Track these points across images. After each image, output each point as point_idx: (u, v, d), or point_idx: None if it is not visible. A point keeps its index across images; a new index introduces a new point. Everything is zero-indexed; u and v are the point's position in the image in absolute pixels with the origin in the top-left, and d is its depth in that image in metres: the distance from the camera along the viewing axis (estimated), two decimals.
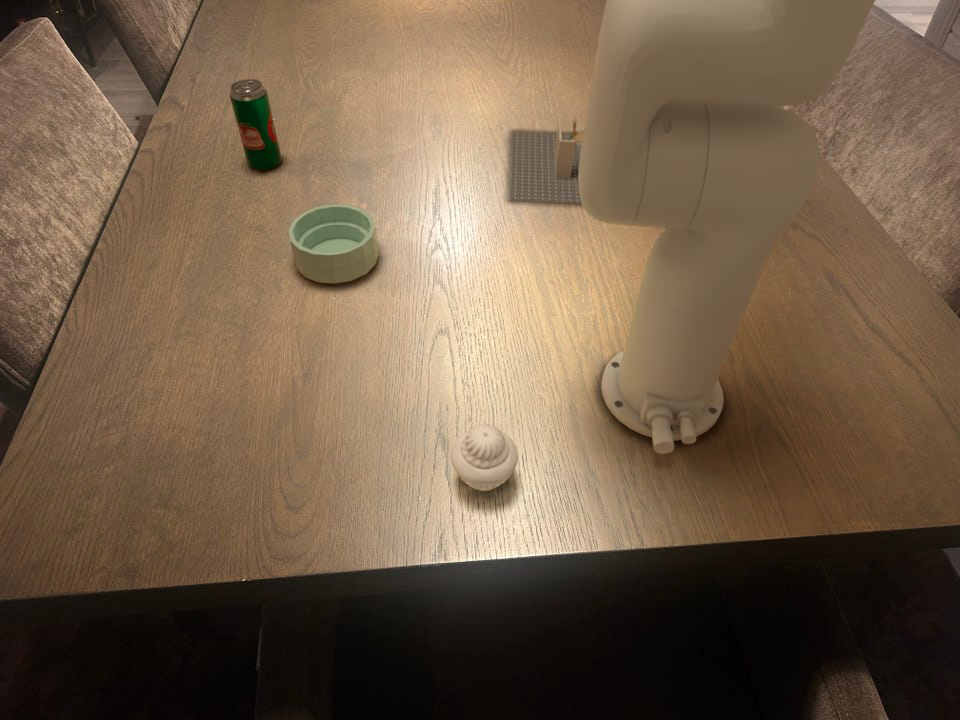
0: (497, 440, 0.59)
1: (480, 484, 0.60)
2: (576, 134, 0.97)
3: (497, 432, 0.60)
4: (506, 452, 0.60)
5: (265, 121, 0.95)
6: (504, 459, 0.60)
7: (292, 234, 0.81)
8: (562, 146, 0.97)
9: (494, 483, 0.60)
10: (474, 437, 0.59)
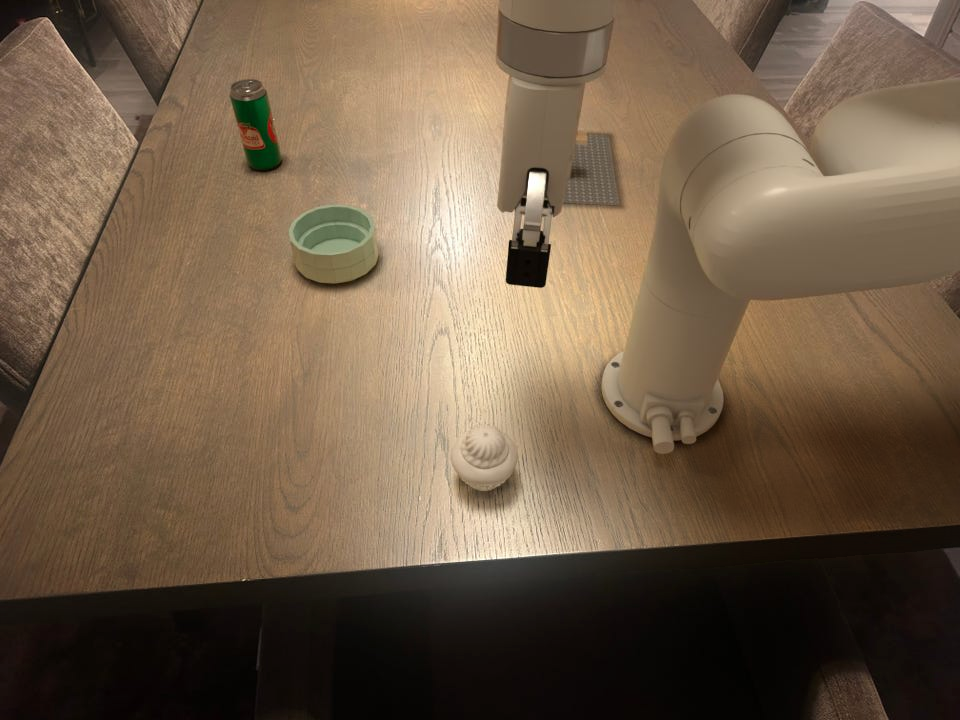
0: (497, 440, 0.59)
1: (480, 484, 0.60)
2: None
3: (497, 432, 0.60)
4: (506, 452, 0.60)
5: (265, 121, 0.95)
6: (504, 459, 0.60)
7: (292, 234, 0.81)
8: None
9: (494, 483, 0.60)
10: (474, 437, 0.59)
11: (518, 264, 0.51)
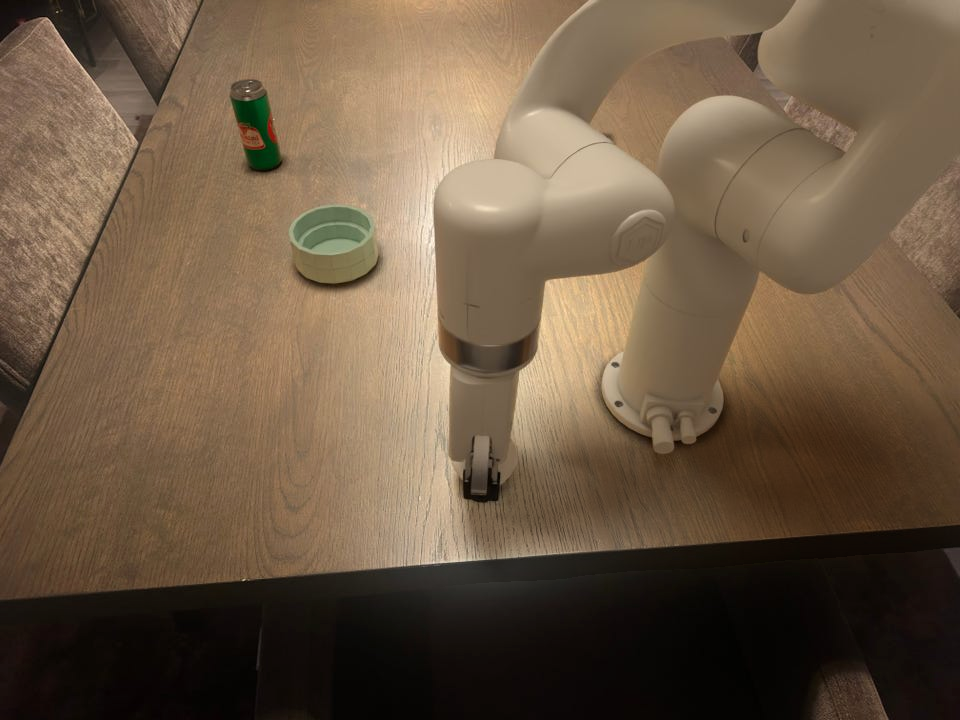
0: None
1: None
2: None
3: None
4: None
5: (265, 121, 0.95)
6: None
7: (292, 234, 0.81)
8: None
9: None
10: None
11: None
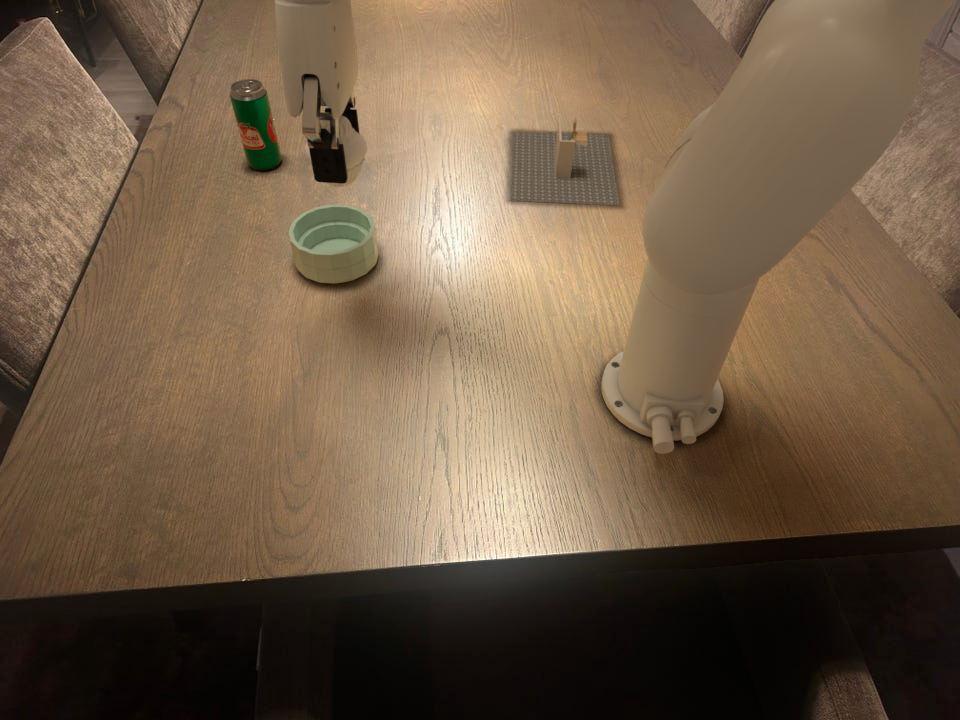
0: (342, 122, 0.65)
1: None
2: (576, 134, 0.98)
3: (343, 118, 0.66)
4: (353, 138, 0.66)
5: (265, 121, 0.95)
6: (350, 142, 0.66)
7: (292, 234, 0.81)
8: (562, 146, 0.97)
9: None
10: (321, 120, 0.65)
11: (318, 161, 0.64)
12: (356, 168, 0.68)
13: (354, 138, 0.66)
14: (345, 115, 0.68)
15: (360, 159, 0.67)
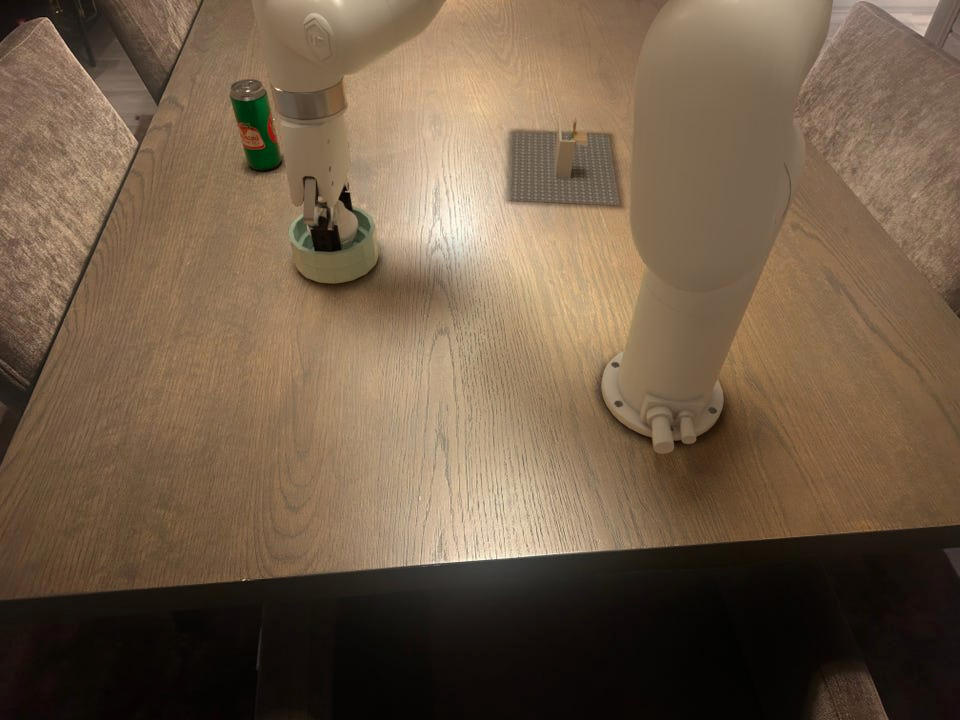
0: (337, 206, 0.79)
1: None
2: (576, 134, 0.98)
3: (338, 201, 0.80)
4: (346, 217, 0.80)
5: (265, 121, 0.95)
6: (343, 221, 0.80)
7: (292, 234, 0.81)
8: (562, 146, 0.97)
9: None
10: None
11: (317, 239, 0.78)
12: (349, 241, 0.82)
13: (347, 218, 0.80)
14: (340, 197, 0.83)
15: (352, 234, 0.81)
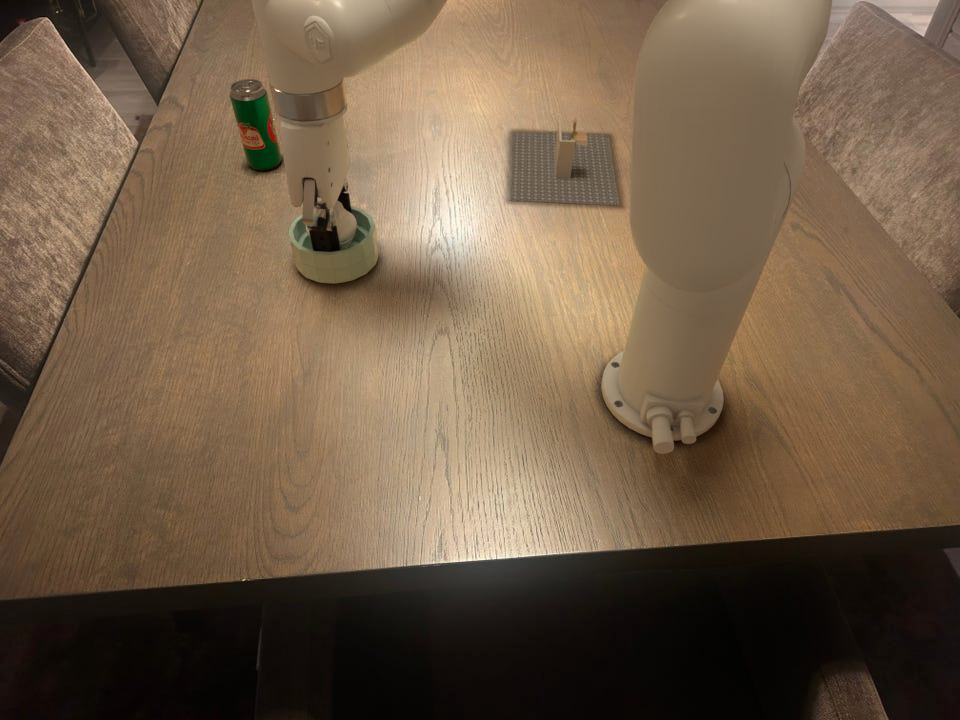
0: (335, 206, 0.79)
1: None
2: (576, 134, 0.98)
3: (337, 202, 0.80)
4: (344, 218, 0.81)
5: (265, 121, 0.95)
6: (342, 222, 0.80)
7: (292, 234, 0.81)
8: (562, 146, 0.97)
9: None
10: None
11: (316, 240, 0.78)
12: (347, 242, 0.82)
13: (346, 218, 0.81)
14: (339, 198, 0.83)
15: (351, 235, 0.81)
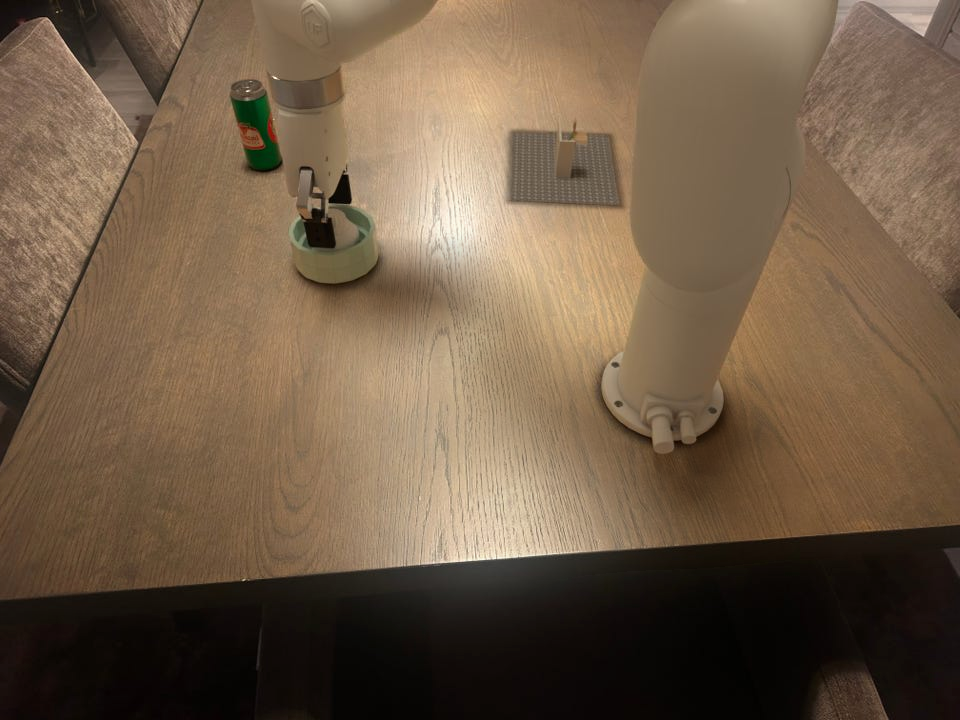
0: (338, 215, 0.80)
1: (326, 249, 0.81)
2: (576, 134, 0.98)
3: (339, 212, 0.81)
4: (346, 227, 0.81)
5: (265, 121, 0.95)
6: (344, 231, 0.81)
7: (292, 234, 0.81)
8: (562, 146, 0.97)
9: (336, 248, 0.81)
10: None
11: (310, 232, 0.76)
12: None
13: (348, 228, 0.81)
14: (339, 179, 0.82)
15: (352, 244, 0.82)
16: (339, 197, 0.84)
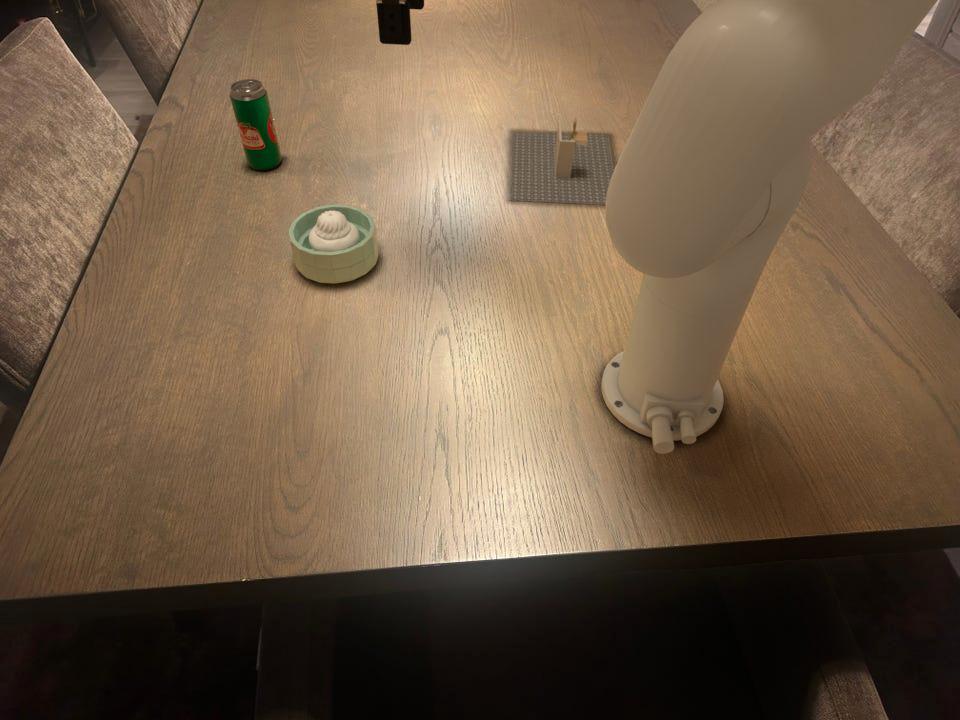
0: (338, 219, 0.80)
1: None
2: (576, 134, 0.98)
3: (340, 214, 0.81)
4: (347, 230, 0.81)
5: (265, 121, 0.95)
6: (344, 234, 0.81)
7: (292, 234, 0.81)
8: (562, 146, 0.97)
9: None
10: (322, 216, 0.80)
11: (385, 19, 0.66)
12: None
13: (348, 231, 0.81)
14: None
15: None
16: None
